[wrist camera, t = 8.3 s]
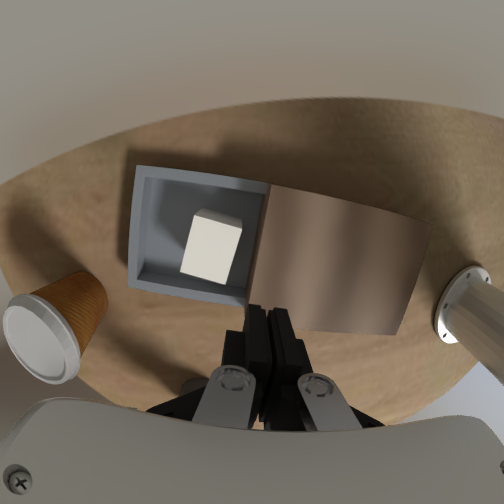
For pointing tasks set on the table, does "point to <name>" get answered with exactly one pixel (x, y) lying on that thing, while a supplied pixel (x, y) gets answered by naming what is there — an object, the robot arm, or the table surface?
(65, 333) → the disposable coffee cup
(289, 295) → the brown wooden box
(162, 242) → the box
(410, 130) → the table surface
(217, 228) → the white block
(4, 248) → the table surface
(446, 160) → the table surface
